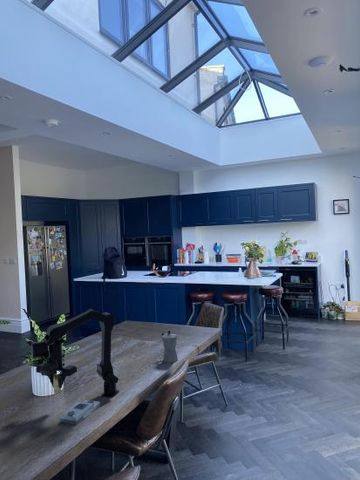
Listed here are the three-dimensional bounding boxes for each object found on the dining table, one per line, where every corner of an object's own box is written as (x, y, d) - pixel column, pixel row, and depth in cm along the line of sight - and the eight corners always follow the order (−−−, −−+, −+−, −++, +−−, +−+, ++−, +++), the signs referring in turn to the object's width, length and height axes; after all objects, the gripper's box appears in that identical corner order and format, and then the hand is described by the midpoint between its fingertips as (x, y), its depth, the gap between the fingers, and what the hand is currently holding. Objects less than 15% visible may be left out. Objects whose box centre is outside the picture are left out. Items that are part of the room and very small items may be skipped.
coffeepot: (182, 361, 225) (181, 331, 225) (169, 365, 220) (168, 334, 220) (169, 354, 238) (168, 326, 238) (156, 358, 233) (155, 329, 233)
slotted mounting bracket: (85, 403, 175) (85, 395, 175) (100, 405, 172) (100, 397, 172) (60, 421, 158) (60, 413, 158) (76, 424, 155) (75, 416, 155)
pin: (57, 390, 173) (56, 373, 172) (62, 391, 171) (61, 373, 171) (52, 393, 170) (51, 375, 169) (58, 394, 168) (57, 376, 168)
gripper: (26, 357, 166) (28, 392, 166) (60, 361, 159) (62, 397, 160) (43, 350, 176) (45, 382, 177) (76, 353, 170) (78, 387, 170)
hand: (57, 387), depth 171 cm, fingers closed on pin, 3 cm apart
